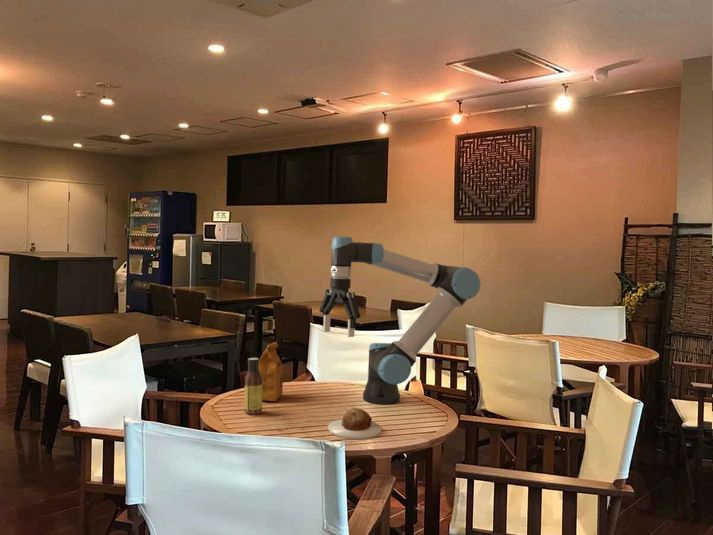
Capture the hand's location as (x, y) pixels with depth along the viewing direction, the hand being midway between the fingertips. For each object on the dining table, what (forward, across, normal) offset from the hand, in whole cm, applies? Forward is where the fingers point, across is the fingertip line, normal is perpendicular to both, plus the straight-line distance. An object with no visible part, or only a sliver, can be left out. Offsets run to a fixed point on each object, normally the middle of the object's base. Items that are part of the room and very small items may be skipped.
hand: (338, 334), depth 225 cm
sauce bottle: (+29, -15, -27) cm, 42 cm away
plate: (+29, +22, -11) cm, 38 cm away
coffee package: (+29, -27, -11) cm, 41 cm away
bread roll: (+28, +22, -10) cm, 37 cm away
